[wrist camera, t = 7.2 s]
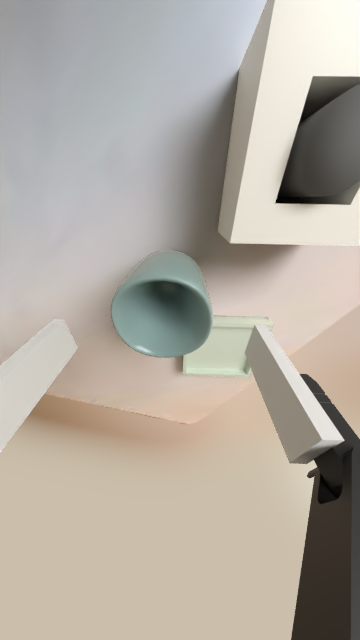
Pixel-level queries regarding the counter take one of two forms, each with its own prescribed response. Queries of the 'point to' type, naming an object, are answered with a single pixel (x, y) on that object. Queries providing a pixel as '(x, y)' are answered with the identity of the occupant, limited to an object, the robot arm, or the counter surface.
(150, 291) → the cup
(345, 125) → the grey oval solid
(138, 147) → the counter surface
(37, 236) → the counter surface
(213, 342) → the tray
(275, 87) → the housing
